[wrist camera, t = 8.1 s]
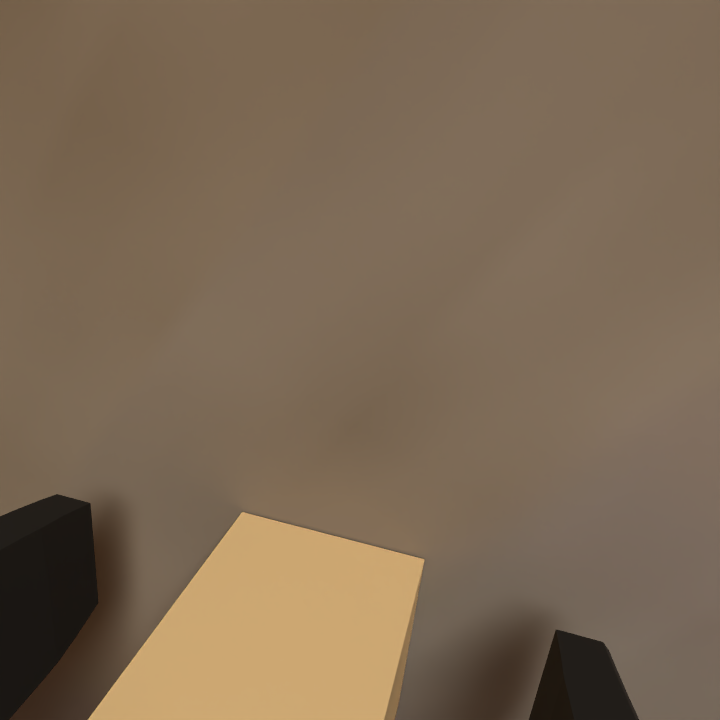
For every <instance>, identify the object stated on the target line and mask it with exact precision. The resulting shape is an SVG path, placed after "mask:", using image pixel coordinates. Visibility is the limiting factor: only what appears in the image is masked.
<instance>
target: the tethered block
mask: <svg viewBox="0 0 720 720" xmlns="http://www.w3.org/2000/svg"><path fill="white" fill-rule="evenodd" d="M424 560H425V559H421V558H417V557H413V556H410V555H406V554H402V553H398V552H394V551H390V550H386V549H383V548H379V547H375V546H371V545H367V544H363V543H359V542H356V541H352V540H348V539H344V538H340V537H336V536H332V535H329V534H325V533H321V532H317V531H313V530H309V529H306V528H302V527H298V526H294V525H290V524H286V523H282V522H279V521H275V520H271V519H267V518H263V517H259V516H255V515H252V514H248V513H244V512H242V513H241V514H240V516H239V517H238V518H237V520H236V521H235V522H234V524H233V525H232V526H231V528H230V529H229V530H228V532H227V533H226V535H225V536H224V537H223V539H222V540H221V541H220V543H219V544H218V545H217V547H216V548H215V549H214V551H213V552H212V553H211V555H210V556H209V557H208V559H207V560H206V561H205V563H204V564H203V565H202V567H201V568H200V569H199V571H198V572H197V573H196V575H195V576H194V578H193V579H192V580H191V582H190V583H189V584H188V586H187V587H186V588H185V590H184V591H183V592H182V594H181V595H180V596H179V598H178V599H177V600H176V602H175V603H174V604H173V606H172V607H171V608H170V610H169V611H168V612H167V614H166V615H165V617H164V618H163V619H162V621H161V622H160V623H159V625H158V626H157V627H156V629H155V630H154V631H153V633H152V634H151V635H150V637H149V638H148V639H147V641H146V642H145V643H144V645H143V646H142V647H141V649H140V650H139V651H138V653H137V654H136V655H135V657H134V658H133V660H132V661H131V662H130V664H129V665H128V666H127V668H126V669H125V670H124V672H123V673H122V674H121V676H120V677H119V678H118V680H117V681H116V682H115V684H114V685H113V686H112V688H111V689H110V690H109V692H108V693H107V694H106V696H105V697H104V698H103V700H102V701H101V703H100V704H99V705H98V707H97V708H96V709H95V711H94V712H93V713H92V715H91V716H90V717H89V719H88V720H395V716H396V712H397V707H398V703H399V699H400V693H401V688H402V682H403V677H404V671H405V666H406V660H407V655H408V649H409V643H410V638H411V632H412V627H413V621H414V616H415V610H416V604H417V599H418V593H419V588H420V582H421V577H422V571H423V565H424Z"/></svg>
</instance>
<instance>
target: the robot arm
mask: <svg viewBox="0 0 720 720" xmlns="http://www.w3.org/2000/svg"><path fill="white" fill-rule="evenodd" d="M97 604H98V592H97V580H96V568H95V555H94V543H93V531H92V518H91V506H90V503H88V502H84V501H80V500H77V499H73V498H69V497H66V496H62V495H58V494H56V495H54V496H51V497H48V498H45V499H42V500H40V501H37V502H35V503H32V504H29V505H27V506H24V507H22V508H19V509H17V510H14V511H12V512H10V513H7V514H5V515H2V516H0V720H9V719H10V718H11V717H12V715H13V714H14V713H15V712H16V711H17V710H18V709H19V707H20V706H21V705H22V704H23V703H24V702H25V700H26V699H27V698H28V697H29V696H30V695H31V693H32V692H33V691H34V690H35V689H36V688H37V686H38V685H39V684H40V683H41V682H42V681H43V679H44V678H45V677H46V676H47V675H48V673H49V672H50V671H51V670H52V669H53V667H54V666H55V665H56V664H57V663H58V661H59V660H60V658H61V657H62V656H63V654H64V653H65V651H66V650H67V649H68V647H69V646H70V644H71V643H72V641H73V640H74V639H75V637H76V636H77V634H78V633H79V631H80V630H81V628H82V627H83V625H84V624H85V622H86V621H87V619H88V618H89V616H90V615H91V613H92V611H93V610H94V608H95V607H96V605H97ZM529 720H639V719H638V716H637V714H636V712H635V710H634V708H633V705H632V703H631V701H630V699H629V697H628V694H627V692H626V690H625V687H624V685H623V683H622V681H621V678H620V676H619V673H618V671H617V669H616V666H615V664H614V662H613V659H612V657H611V654H610V652H609V650H608V649H607V647H606V646H605V644H604V643H603V642H601V641H597V640H593V639H590V638H586V637H582V636H578V635H575V634H571V633H567V632H564V631H560V630H556V631H555V634H554V638H553V641H552V644H551V648H550V651H549V654H548V658H547V661H546V664H545V668H544V671H543V674H542V678H541V681H540V684H539V688H538V691H537V694H536V698H535V701H534V704H533V708H532V711H531V714H530V718H529Z"/></svg>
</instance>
